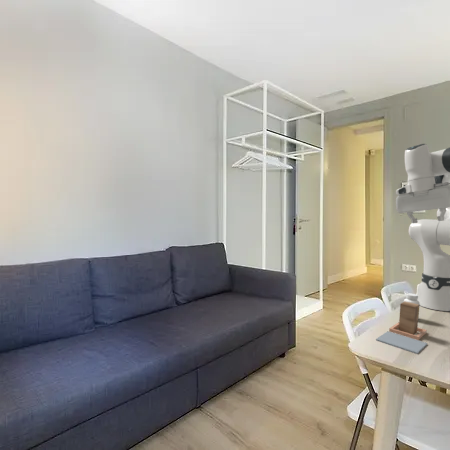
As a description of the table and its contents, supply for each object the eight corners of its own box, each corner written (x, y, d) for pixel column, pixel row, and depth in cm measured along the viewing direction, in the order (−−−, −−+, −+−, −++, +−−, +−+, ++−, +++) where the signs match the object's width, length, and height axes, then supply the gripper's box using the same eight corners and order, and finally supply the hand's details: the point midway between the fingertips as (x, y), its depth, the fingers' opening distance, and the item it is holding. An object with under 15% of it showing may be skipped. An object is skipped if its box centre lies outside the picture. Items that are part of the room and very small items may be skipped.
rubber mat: (387, 332, 108) (387, 331, 108) (427, 344, 99) (427, 343, 99) (375, 340, 101) (376, 339, 101) (417, 354, 93) (417, 352, 93)
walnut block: (403, 328, 112) (404, 301, 111) (417, 332, 109) (419, 304, 108) (398, 331, 109) (400, 303, 108) (412, 335, 106) (414, 307, 105)
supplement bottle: (420, 322, 119) (422, 297, 119) (405, 320, 120) (407, 295, 120) (415, 317, 125) (416, 293, 124) (400, 315, 126) (402, 292, 125)
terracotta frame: (398, 325, 115) (398, 322, 115) (426, 333, 109) (426, 330, 108) (389, 331, 109) (389, 328, 109) (418, 340, 102) (418, 337, 102)
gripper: (456, 180, 112) (462, 218, 112) (400, 190, 129) (405, 223, 129) (448, 181, 108) (455, 220, 108) (391, 191, 126) (397, 225, 126)
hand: (427, 222), depth 119 cm, fingers open, 8 cm apart
